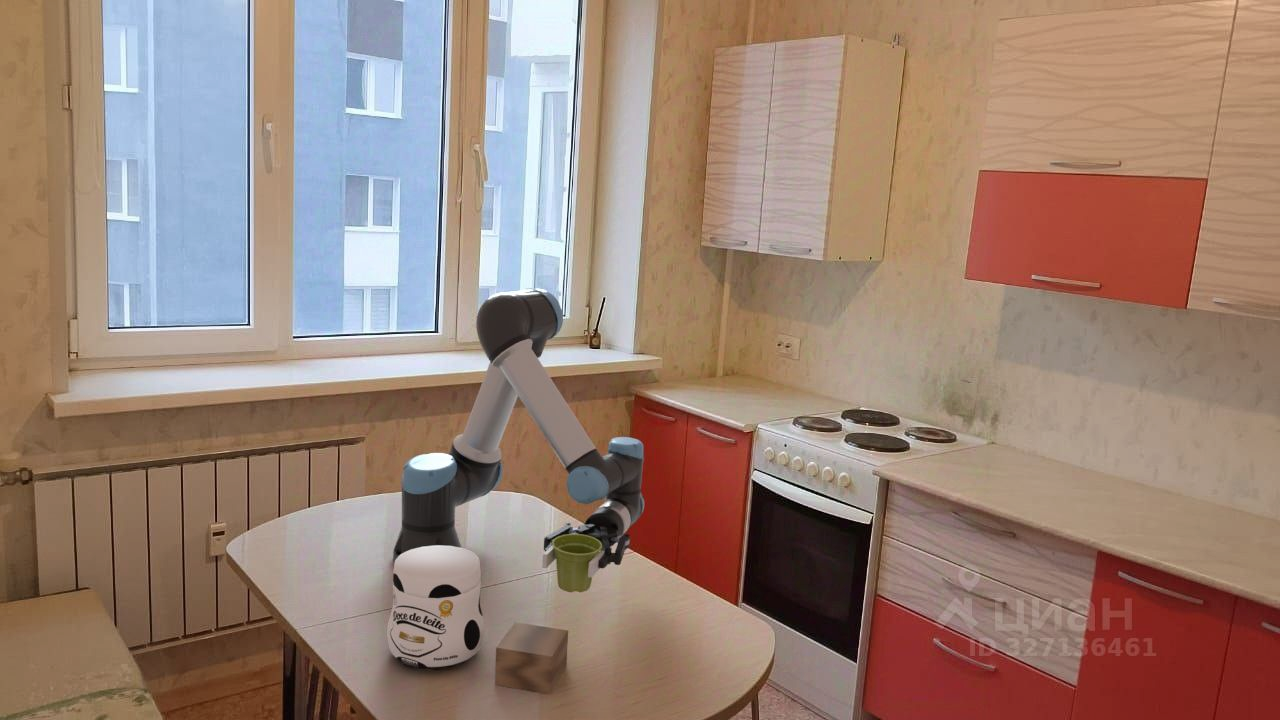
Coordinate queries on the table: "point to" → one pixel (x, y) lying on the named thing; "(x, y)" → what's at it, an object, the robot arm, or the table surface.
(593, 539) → the plant pot
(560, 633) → the walnut block
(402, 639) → the milk container
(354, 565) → the table surface
